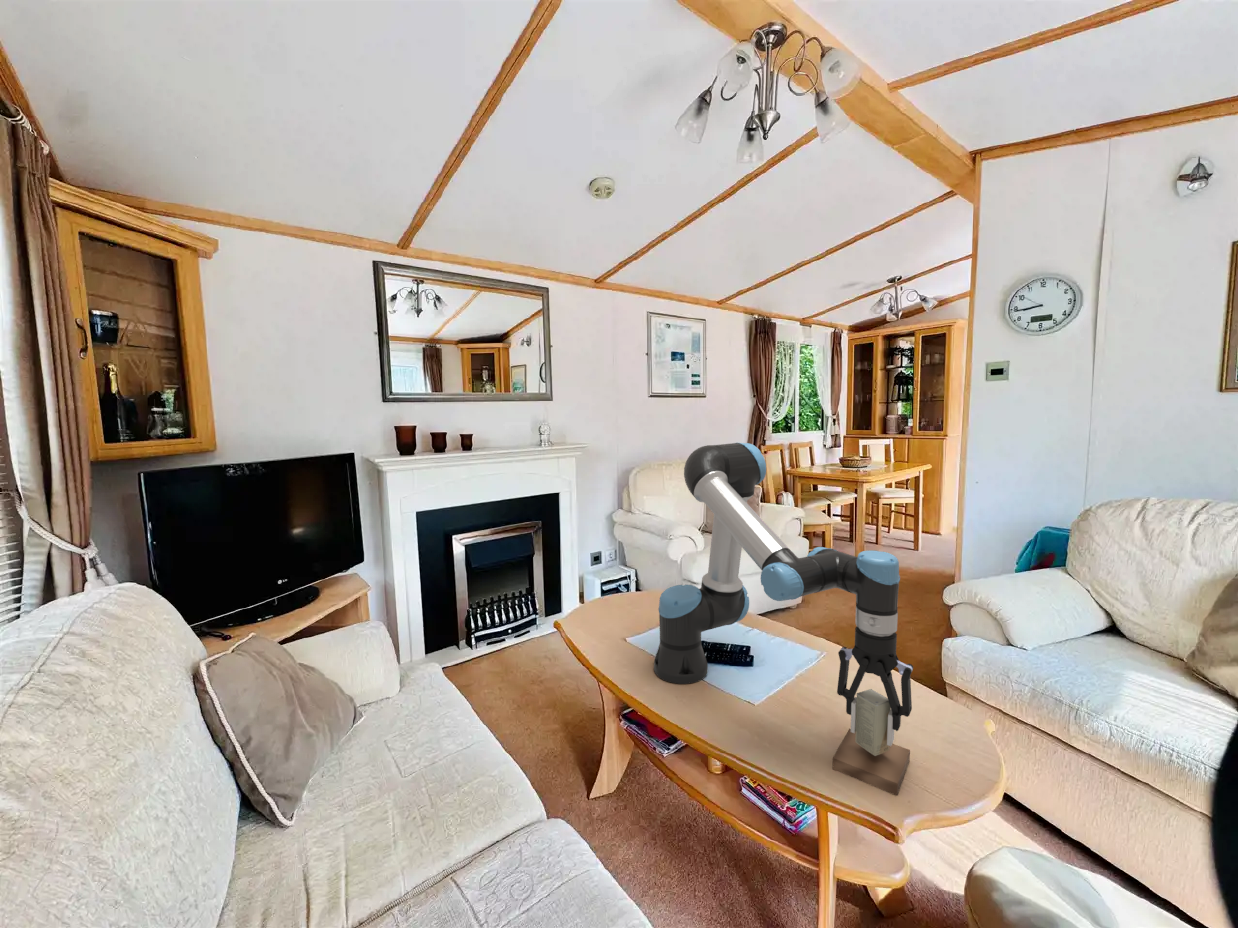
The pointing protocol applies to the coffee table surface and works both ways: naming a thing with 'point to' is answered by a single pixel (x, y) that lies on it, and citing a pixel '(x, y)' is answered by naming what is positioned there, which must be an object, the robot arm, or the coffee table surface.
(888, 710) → the box
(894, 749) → the walnut block
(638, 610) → the coffee table surface
